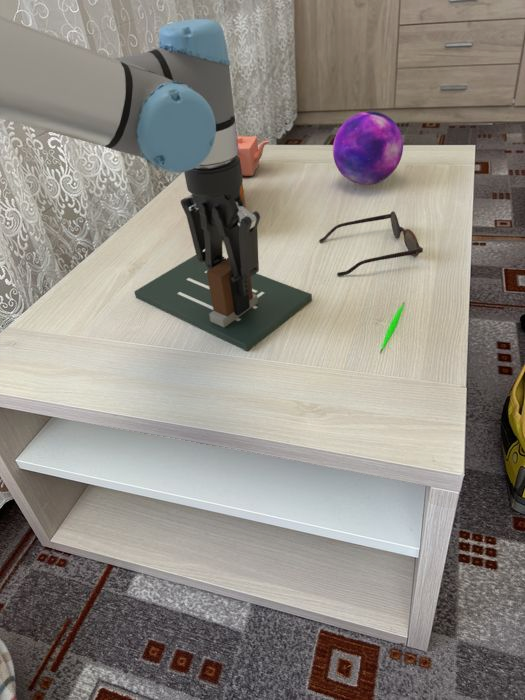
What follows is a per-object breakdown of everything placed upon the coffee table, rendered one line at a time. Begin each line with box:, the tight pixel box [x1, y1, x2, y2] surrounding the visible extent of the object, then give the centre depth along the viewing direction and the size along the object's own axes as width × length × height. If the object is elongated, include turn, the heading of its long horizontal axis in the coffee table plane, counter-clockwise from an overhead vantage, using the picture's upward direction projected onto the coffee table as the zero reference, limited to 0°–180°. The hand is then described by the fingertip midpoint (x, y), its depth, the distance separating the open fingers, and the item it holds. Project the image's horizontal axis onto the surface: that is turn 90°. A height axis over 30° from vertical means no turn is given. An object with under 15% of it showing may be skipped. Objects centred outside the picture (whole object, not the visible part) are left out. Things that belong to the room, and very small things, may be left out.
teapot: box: [237, 135, 270, 177], centre depth 133 cm, size 12×15×8 cm
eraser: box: [207, 257, 258, 328], centre depth 84 cm, size 8×3×8 cm, turn 140°
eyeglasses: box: [318, 211, 424, 277], centre depth 99 cm, size 15×15×5 cm
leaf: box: [379, 302, 405, 354], centre depth 82 cm, size 1×14×1 cm, turn 154°
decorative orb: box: [332, 110, 404, 186], centre depth 120 cm, size 15×15×15 cm
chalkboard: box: [133, 254, 313, 352], centre depth 92 cm, size 26×16×1 cm, turn 50°
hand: (233, 306), depth 86 cm, fingers closed on eraser, 3 cm apart
